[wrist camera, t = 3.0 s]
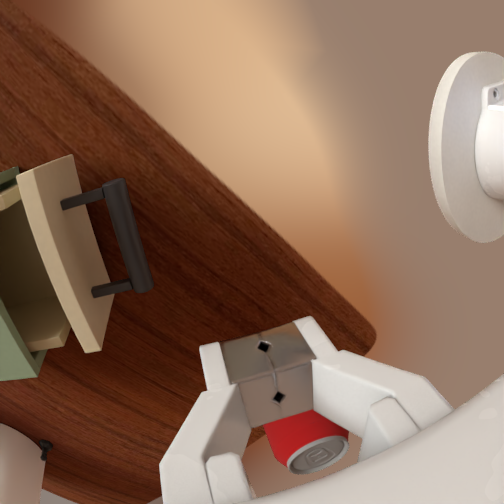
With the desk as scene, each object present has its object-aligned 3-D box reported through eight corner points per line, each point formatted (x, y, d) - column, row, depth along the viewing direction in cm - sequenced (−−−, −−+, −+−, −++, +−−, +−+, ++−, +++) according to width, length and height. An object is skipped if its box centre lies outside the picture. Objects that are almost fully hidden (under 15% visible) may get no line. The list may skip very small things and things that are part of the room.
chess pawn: (55, 446, 31) (53, 463, 28) (48, 449, 31) (45, 466, 28) (44, 438, 30) (41, 456, 27) (37, 441, 30) (33, 458, 27)
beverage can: (263, 397, 34) (297, 484, 23) (234, 364, 31) (265, 464, 20) (315, 368, 34) (364, 450, 23) (293, 331, 31) (346, 422, 20)
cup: (33, 430, 29) (18, 506, 18) (54, 472, 33) (48, 536, 22) (-35, 411, 26) (-58, 476, 15) (-8, 456, 30) (-20, 514, 19)
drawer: (127, 137, 20) (106, 144, 14) (163, 281, 25) (164, 338, 18) (-53, 206, 17) (-102, 236, 11) (-6, 320, 22) (-37, 370, 16)
